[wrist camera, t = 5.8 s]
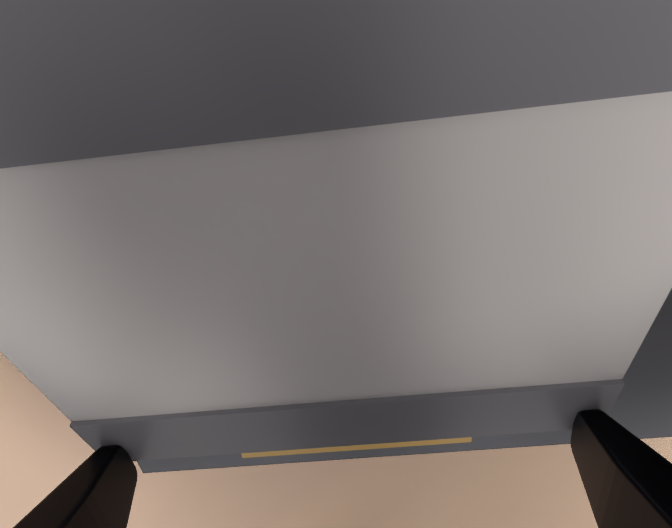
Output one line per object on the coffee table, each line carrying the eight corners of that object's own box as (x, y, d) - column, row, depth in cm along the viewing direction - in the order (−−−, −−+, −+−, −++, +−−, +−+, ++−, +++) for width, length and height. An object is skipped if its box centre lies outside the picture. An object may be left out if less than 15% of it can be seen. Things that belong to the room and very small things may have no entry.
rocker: (566, 360, 11) (597, 432, 10) (134, 395, 11) (111, 466, 10) (773, -187, 5) (940, -179, 3) (-204, -40, 5) (-366, 10, 4)
